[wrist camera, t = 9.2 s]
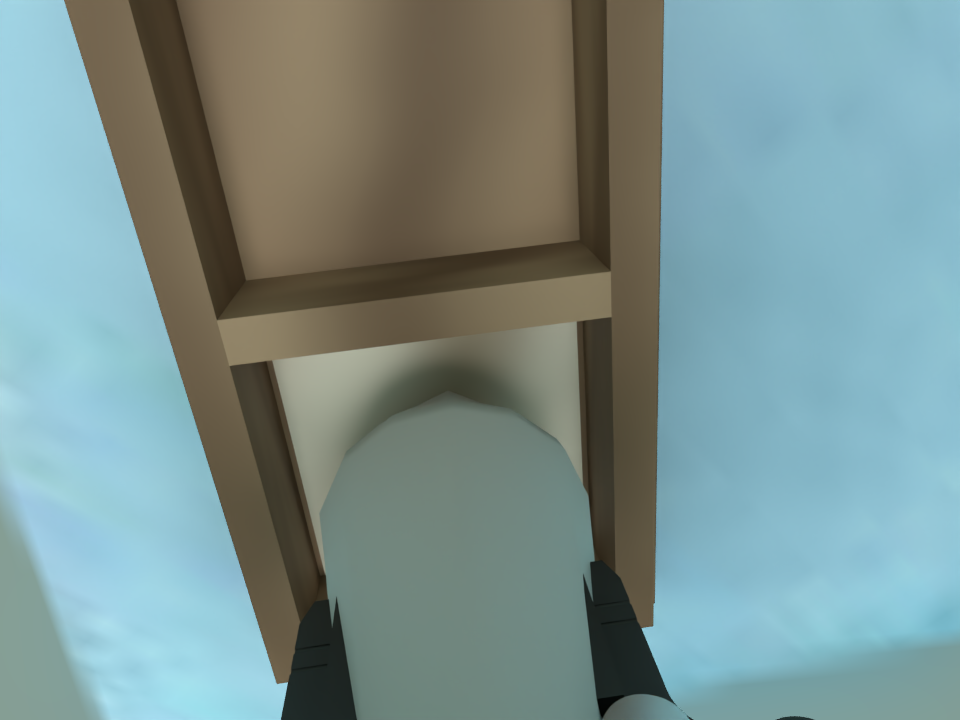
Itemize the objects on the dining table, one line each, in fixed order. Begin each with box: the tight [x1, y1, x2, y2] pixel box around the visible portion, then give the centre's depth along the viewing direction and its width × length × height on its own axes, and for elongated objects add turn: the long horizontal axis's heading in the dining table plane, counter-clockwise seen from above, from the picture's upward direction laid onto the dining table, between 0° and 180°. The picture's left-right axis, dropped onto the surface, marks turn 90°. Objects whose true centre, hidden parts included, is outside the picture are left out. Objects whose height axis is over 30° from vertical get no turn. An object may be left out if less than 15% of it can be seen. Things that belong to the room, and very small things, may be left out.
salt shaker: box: [319, 391, 602, 720], centre depth 11 cm, size 6×6×13 cm
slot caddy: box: [64, 0, 664, 684], centre depth 15 cm, size 12×23×4 cm, turn 5°
